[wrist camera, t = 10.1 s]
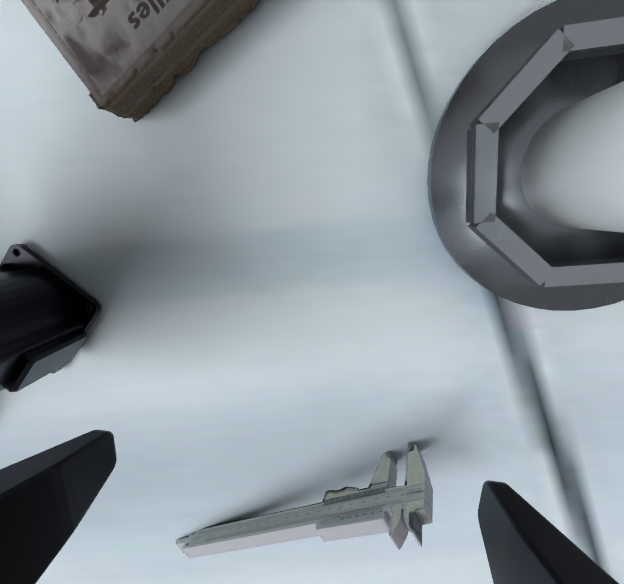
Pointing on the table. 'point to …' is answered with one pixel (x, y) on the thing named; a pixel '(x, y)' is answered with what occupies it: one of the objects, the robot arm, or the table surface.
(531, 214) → the collar
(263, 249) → the table surface
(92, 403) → the table surface
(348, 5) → the table surface
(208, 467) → the table surface
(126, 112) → the box
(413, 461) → the caliper
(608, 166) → the capped white cylinder
